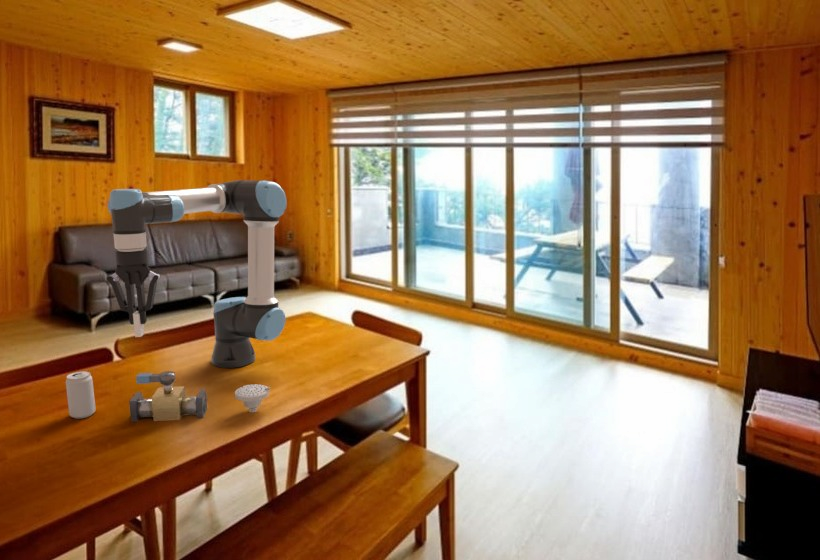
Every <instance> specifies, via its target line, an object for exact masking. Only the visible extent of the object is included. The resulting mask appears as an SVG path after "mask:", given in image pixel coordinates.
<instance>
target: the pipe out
mask: <svg viewBox="0 0 820 560" xmlns="http://www.w3.org/2000/svg"><path fill="white" fill-rule="evenodd" d="M143 397H144V396H143V392H140V391H139V392H135V394H134V395H133V396H132V397H131V399H130V400H129V402H128V403H129V414H130V422H131V423H132V422H133V423H134V421H135V422H138V421H139V420H140V418H152V417H153V408H152V398H143Z"/></svg>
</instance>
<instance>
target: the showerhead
mask: <svg viewBox="0 0 820 560" xmlns="http://www.w3.org/2000/svg"><path fill="white" fill-rule="evenodd" d="M270 390H271V387H270V386H267V385H263V384H260V383H258V384H256V383H254V384H251V383H250V384H245V385H243V386H241V387H239V388H237V389H236V390H235V391H234V398H235V399H236V400H237V401H240V402H243V406H244V407H245V408H247V409H248V412H249V413H256V412H257V411H258V410H257V408H258V407H259V406H261V405H262V400H263V399H266V398H268V396H269V395H270Z"/></svg>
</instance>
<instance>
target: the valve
mask: <svg viewBox="0 0 820 560" xmlns="http://www.w3.org/2000/svg"><path fill="white" fill-rule="evenodd" d="M182 397H186V389H185V386H174V383H171V384H166V385H164V384H162V387H158V388H157V389H156V391H155V393H153V394H152V396H151V399H152V408H153V419H152V420H153V422H162V421H163V422H165V421H180V420H181V419H182V417H183V416H184V415H182V414H181V409H180V405H181V399H182Z"/></svg>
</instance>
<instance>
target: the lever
mask: <svg viewBox="0 0 820 560" xmlns="http://www.w3.org/2000/svg"><path fill="white" fill-rule="evenodd" d="M135 378H136V384H138V385H139V384H151V383H159V384H160V385H163V384H164V385H166V384H171V383H172V384H174V383H176V372H175V371H171V370H166V371H162V372H160V373H152V372H142V373H141V372H139V373H138V374H137V375H136V377H135Z"/></svg>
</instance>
